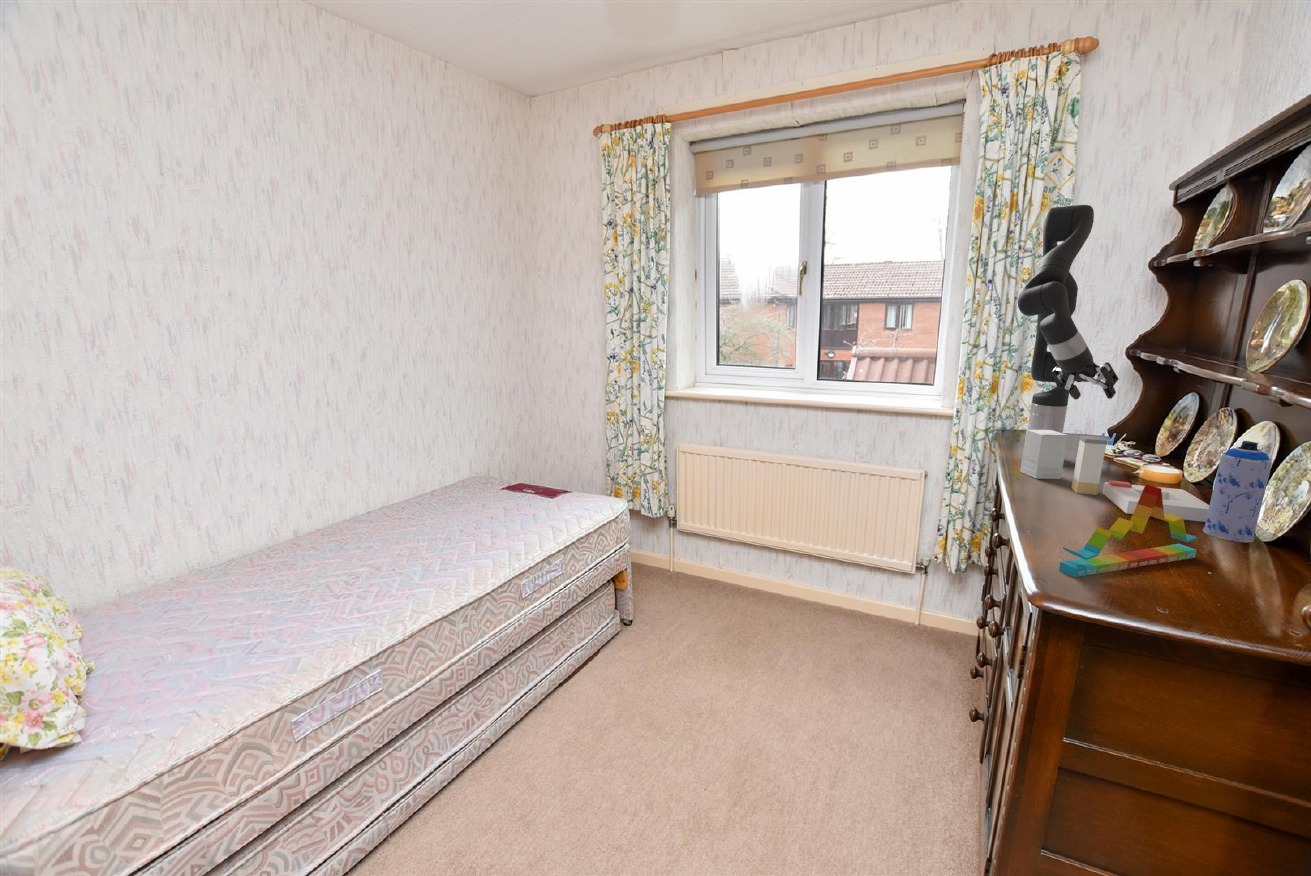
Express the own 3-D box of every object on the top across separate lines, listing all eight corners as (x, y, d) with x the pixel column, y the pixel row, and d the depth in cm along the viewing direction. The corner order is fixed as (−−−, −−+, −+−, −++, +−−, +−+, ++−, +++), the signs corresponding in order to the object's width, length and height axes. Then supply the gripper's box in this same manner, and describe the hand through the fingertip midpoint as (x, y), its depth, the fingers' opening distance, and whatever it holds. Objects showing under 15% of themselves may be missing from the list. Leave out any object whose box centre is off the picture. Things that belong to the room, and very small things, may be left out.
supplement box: (1061, 479, 161) (1069, 434, 158) (1034, 479, 161) (1041, 434, 158) (1045, 472, 168) (1052, 429, 165) (1019, 471, 168) (1025, 429, 165)
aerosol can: (1264, 540, 119) (1288, 445, 115) (1237, 544, 117) (1261, 447, 113) (1218, 526, 127) (1239, 436, 122) (1193, 530, 124) (1213, 438, 120)
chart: (1075, 579, 102) (1090, 497, 98) (1058, 571, 105) (1072, 492, 101) (1196, 559, 110) (1213, 484, 107) (1176, 553, 113) (1193, 479, 110)
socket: (1102, 493, 149) (1105, 479, 148) (1180, 501, 143) (1183, 486, 142) (1126, 513, 134) (1129, 497, 133) (1214, 522, 129) (1217, 506, 128)
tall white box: (1070, 488, 153) (1079, 435, 150) (1091, 490, 152) (1101, 436, 148) (1076, 493, 149) (1085, 438, 146) (1097, 495, 147) (1107, 440, 144)
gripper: (1106, 337, 146) (1131, 387, 151) (1049, 343, 159) (1074, 389, 164) (1090, 356, 144) (1116, 406, 149) (1035, 361, 157) (1060, 406, 162)
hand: (1094, 397), depth 156 cm, fingers open, 8 cm apart
